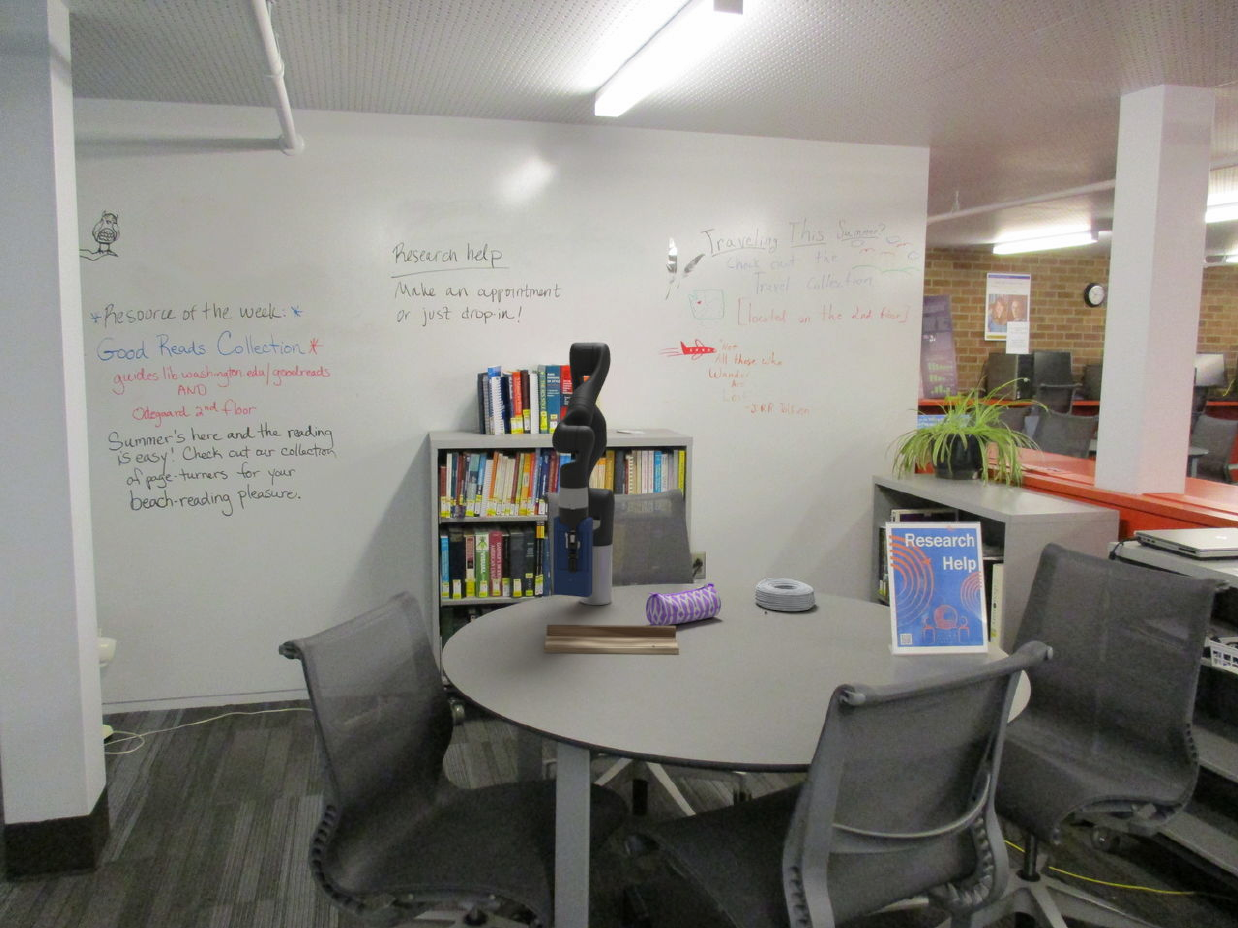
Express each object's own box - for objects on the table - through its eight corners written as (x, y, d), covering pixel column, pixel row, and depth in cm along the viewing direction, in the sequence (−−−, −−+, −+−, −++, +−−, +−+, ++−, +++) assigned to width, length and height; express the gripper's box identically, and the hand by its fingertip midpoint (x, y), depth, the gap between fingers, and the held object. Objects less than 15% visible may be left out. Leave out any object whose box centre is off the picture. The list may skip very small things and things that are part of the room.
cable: (770, 593, 267) (771, 574, 266) (825, 603, 257) (825, 583, 256) (744, 605, 253) (744, 585, 252) (800, 616, 243) (801, 595, 242)
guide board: (547, 640, 218) (547, 624, 218) (675, 641, 219) (675, 625, 218) (544, 653, 208) (544, 636, 208) (678, 654, 209) (679, 638, 208)
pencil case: (701, 611, 247) (702, 578, 246) (725, 618, 239) (726, 585, 238) (641, 624, 233) (642, 590, 232) (664, 633, 226) (665, 597, 225)
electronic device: (593, 592, 226) (594, 516, 223) (587, 598, 221) (588, 520, 218) (558, 589, 228) (558, 514, 225) (552, 595, 223) (552, 518, 220)
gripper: (559, 499, 228) (559, 562, 231) (557, 509, 214) (557, 576, 216) (588, 499, 228) (588, 562, 231) (587, 509, 214) (587, 576, 216)
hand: (573, 568), depth 223 cm, fingers closed on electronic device, 6 cm apart
